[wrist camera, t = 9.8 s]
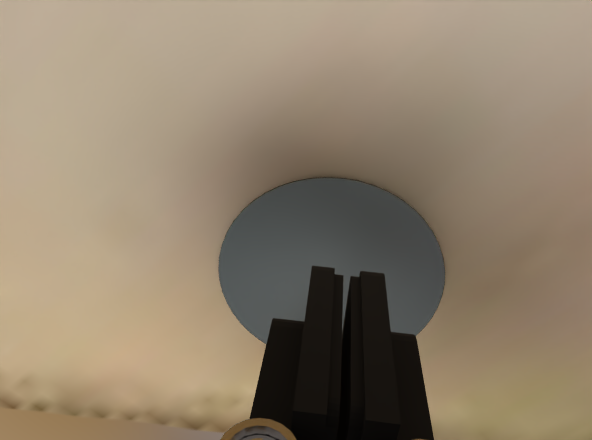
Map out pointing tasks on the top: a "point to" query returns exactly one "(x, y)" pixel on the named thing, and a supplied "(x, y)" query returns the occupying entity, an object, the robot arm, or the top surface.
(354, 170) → the top surface
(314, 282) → the robot arm
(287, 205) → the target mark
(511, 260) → the top surface
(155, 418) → the top surface
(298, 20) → the top surface
